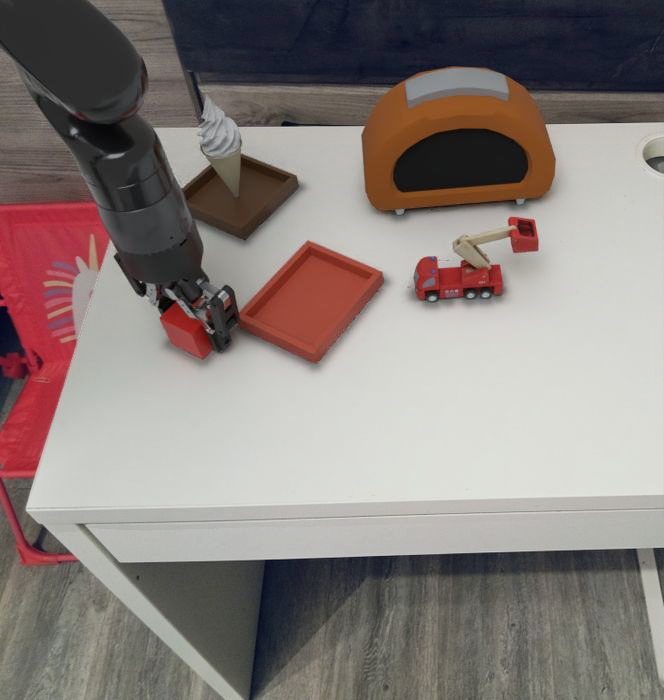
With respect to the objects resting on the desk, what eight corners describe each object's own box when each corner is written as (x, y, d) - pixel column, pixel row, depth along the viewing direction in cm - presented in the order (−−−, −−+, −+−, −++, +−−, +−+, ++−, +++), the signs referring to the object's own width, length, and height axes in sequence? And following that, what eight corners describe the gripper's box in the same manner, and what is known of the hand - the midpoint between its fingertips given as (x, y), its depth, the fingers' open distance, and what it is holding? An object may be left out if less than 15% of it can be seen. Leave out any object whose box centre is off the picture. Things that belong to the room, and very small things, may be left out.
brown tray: (244, 240, 95) (241, 228, 93) (175, 209, 98) (170, 198, 96) (299, 186, 100) (296, 175, 99) (231, 159, 104) (228, 148, 102)
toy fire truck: (414, 281, 90) (409, 221, 83) (530, 275, 91) (536, 214, 83) (415, 303, 88) (411, 243, 81) (533, 296, 89) (540, 236, 81)
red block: (203, 359, 84) (191, 334, 80) (171, 344, 85) (158, 318, 81) (229, 331, 86) (219, 305, 82) (198, 316, 87) (187, 290, 84)
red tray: (315, 364, 83) (313, 353, 82) (238, 327, 86) (234, 316, 85) (383, 282, 90) (382, 271, 89) (310, 251, 93) (307, 239, 92)
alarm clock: (369, 221, 97) (354, 108, 83) (365, 174, 102) (350, 60, 89) (552, 205, 98) (566, 92, 85) (539, 160, 104) (551, 46, 90)
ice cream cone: (263, 186, 100) (236, 85, 88) (246, 212, 97) (215, 111, 85) (227, 179, 101) (196, 78, 89) (209, 205, 98) (174, 103, 86)
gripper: (63, 221, 72) (126, 333, 85) (182, 276, 67) (229, 385, 81) (121, 174, 76) (173, 288, 89) (237, 224, 71) (273, 336, 85)
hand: (199, 334), depth 85 cm, fingers open, 6 cm apart
